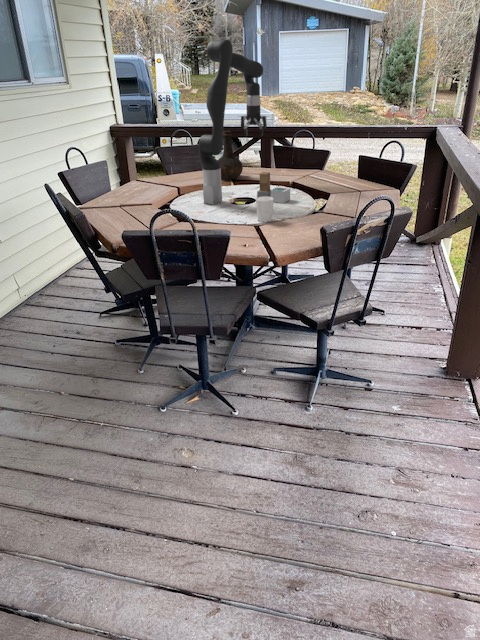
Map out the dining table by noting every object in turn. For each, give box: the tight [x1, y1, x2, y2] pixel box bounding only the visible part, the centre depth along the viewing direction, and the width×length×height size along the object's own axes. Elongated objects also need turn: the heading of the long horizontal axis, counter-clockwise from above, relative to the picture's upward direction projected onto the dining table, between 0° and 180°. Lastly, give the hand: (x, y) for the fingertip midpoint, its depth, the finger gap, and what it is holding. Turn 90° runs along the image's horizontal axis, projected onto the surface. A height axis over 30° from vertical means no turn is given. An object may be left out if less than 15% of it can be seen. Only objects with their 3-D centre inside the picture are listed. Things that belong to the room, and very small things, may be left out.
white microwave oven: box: [270, 186, 291, 204], centre depth 251 cm, size 8×8×6 cm
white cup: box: [255, 196, 274, 222], centre depth 222 cm, size 8×8×10 cm
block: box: [259, 171, 271, 192], centre depth 253 cm, size 4×4×9 cm
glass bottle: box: [216, 130, 244, 181], centre depth 297 cm, size 18×18×28 cm
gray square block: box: [256, 189, 272, 198], centre depth 256 cm, size 6×6×4 cm
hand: (253, 136), depth 272 cm, fingers open, 8 cm apart
